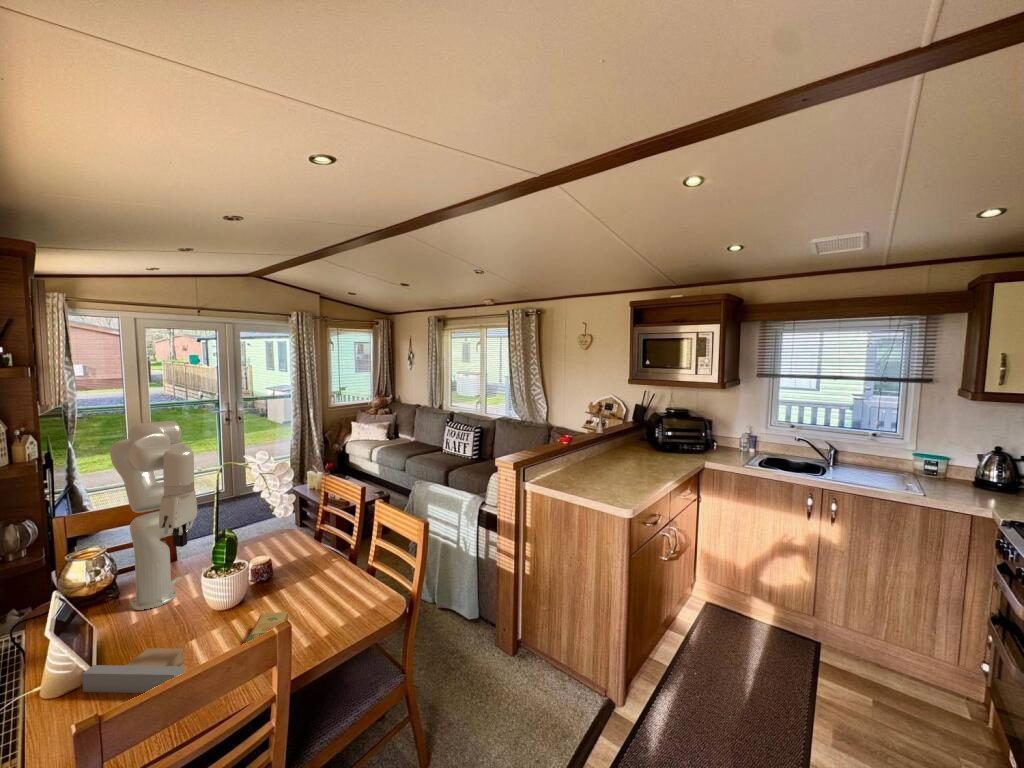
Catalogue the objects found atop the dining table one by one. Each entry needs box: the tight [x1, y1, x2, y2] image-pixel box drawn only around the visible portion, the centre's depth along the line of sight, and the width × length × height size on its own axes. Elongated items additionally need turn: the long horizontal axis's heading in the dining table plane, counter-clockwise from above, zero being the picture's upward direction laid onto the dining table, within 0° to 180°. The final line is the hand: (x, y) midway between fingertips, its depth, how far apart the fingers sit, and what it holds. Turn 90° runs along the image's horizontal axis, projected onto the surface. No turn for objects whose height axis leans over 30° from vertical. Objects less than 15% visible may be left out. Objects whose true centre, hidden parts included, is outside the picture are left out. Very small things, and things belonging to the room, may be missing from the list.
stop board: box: [81, 664, 185, 694], centre depth 111 cm, size 3×24×5 cm, turn 89°
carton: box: [244, 611, 289, 644], centre depth 131 cm, size 8×16×4 cm, turn 14°
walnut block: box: [125, 647, 185, 667], centre depth 117 cm, size 8×10×4 cm
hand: (180, 545), depth 134 cm, fingers closed
